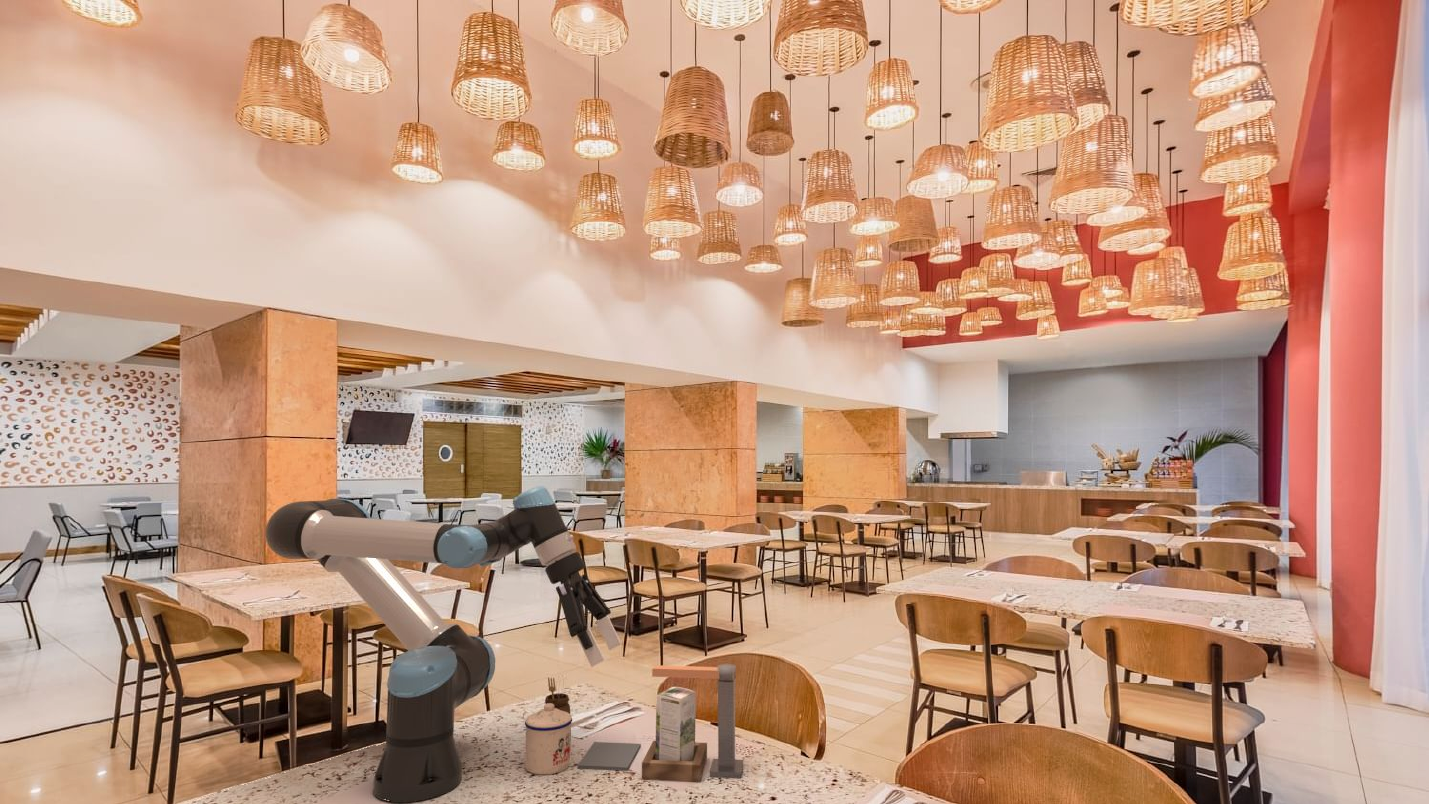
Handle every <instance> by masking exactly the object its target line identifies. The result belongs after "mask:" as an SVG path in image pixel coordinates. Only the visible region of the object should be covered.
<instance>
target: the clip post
mask: <svg viewBox="0 0 1429 804" xmlns="http://www.w3.org/2000/svg"><path fill="white" fill-rule="evenodd" d="M717 688H718V689H717V692H718V693H717V695H718V696H717V698H718V699H717V713H718V714H717V718H718V719H717V721H718V722H717V723H718V724H717V732H718V733H717V736H718V737H717V738H718V739H717V741H718V744H717V746H718V747H717V753H718V754H717V755H718V756H717V758H712V761H711V764H710V768H709V777H710V778H724V779H725V778H729V779H730V778H731V779H742V776H743V771H744V759H736V678H735V679H731V680H723V679H718V681H717Z"/></svg>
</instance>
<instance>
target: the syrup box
mask: <svg viewBox="0 0 1429 804" xmlns="http://www.w3.org/2000/svg"><path fill="white" fill-rule="evenodd" d="M696 698H697V692H696V691H695V690H692V689H689V688H685V687H680V686H672V687H670V688H668V689H665V690H663V691H661V692H659V693H657V694H656V709H655V710H656V712H655V713H656V715H655V720H656V721H655V741H656V750H655V760H666V761H689V762H693V761H694V758H695V742H696V714H697V713H696V712H697V711H696V708H697V707H696V704H697V703H696V702H697V701H696V700H697V699H696Z"/></svg>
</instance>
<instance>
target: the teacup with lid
mask: <svg viewBox="0 0 1429 804" xmlns="http://www.w3.org/2000/svg"><path fill="white" fill-rule="evenodd" d="M572 717H573V716H572V715H571V713H570V714H569V713H568V712H565V711H561V710H559V709H557V708H554V704H552V703H548V704H546V703H544V706H543V708H541V709H540V710H538V711H536V712H534V713H532V714H530V715H528V716H527V717H526V719H525V722H524V726H525V760H524V767H525V770H526V771H528V772H529V773H531V774H534V775H553V774H556V773H557V774H558V773H560V772H562V771H564V770H566V769H568V767H570V765H571V747H572V746H571V745H572V744H571V741H572V737H571V735H572V733H571V732H572V722H573V718H572Z"/></svg>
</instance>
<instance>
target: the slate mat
mask: <svg viewBox="0 0 1429 804" xmlns="http://www.w3.org/2000/svg"><path fill="white" fill-rule="evenodd" d="M641 747H642V743H635V742H634V743H631V742H630V743H629V742H609V741H608V742H607V741H604V742H603V741H602V742H601V741H594V742H593V743H592V744H591V746H590V747H589V749H587V752H585V754H584V755H583V757H582V758H581V759H580V761H579V762H578V764H577V765H576V767H577V769H582V770H584V769H585V770H602V771H624V772H625V771H626V772H627V771H629V769H630V768H631V766H632V764H633V762H634V760H635V758H636V756H637V755H638V753H639V751H640V749H641Z"/></svg>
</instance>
